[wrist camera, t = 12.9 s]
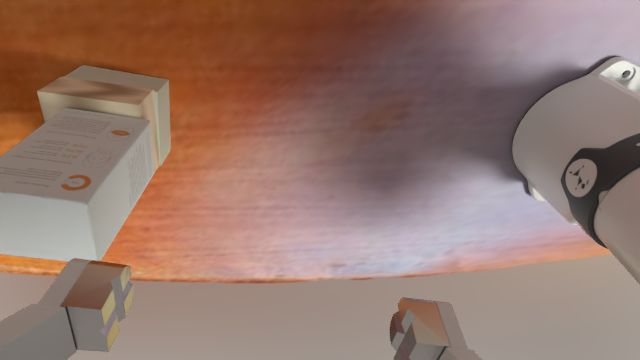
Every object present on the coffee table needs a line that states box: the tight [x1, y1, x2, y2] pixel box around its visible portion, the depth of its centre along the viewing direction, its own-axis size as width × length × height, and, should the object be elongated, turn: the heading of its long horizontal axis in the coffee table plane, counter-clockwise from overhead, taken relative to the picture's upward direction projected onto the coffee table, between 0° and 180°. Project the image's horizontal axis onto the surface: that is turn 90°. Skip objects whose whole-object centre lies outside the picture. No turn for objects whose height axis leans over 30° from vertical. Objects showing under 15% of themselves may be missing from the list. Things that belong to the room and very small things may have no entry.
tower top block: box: [37, 77, 160, 173], centre depth 40 cm, size 9×9×4 cm
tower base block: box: [64, 65, 171, 166], centre depth 44 cm, size 9×9×4 cm
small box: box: [0, 108, 154, 262], centre depth 33 cm, size 8×6×13 cm
